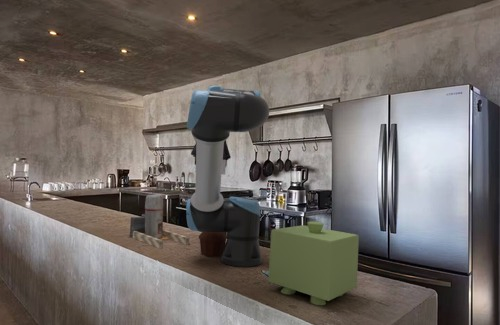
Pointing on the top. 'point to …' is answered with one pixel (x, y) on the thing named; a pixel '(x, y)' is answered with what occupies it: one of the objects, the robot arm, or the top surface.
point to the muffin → (212, 243)
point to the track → (139, 233)
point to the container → (314, 261)
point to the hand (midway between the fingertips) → (210, 173)
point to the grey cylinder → (154, 215)
